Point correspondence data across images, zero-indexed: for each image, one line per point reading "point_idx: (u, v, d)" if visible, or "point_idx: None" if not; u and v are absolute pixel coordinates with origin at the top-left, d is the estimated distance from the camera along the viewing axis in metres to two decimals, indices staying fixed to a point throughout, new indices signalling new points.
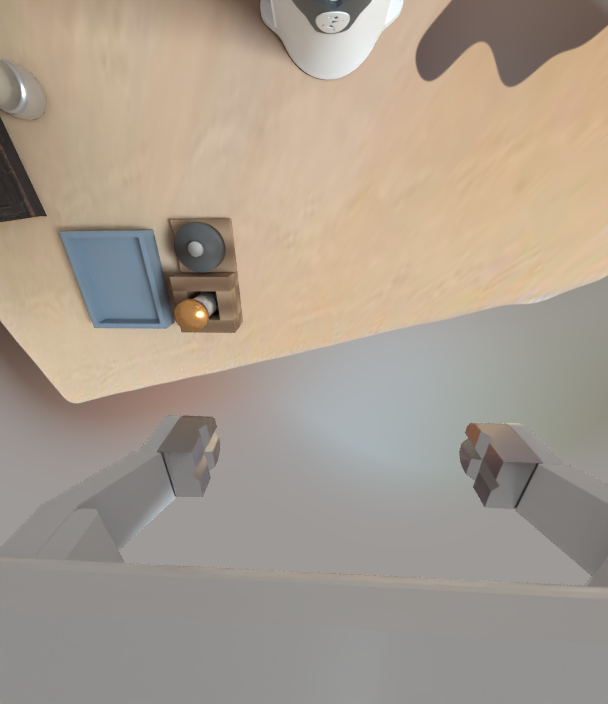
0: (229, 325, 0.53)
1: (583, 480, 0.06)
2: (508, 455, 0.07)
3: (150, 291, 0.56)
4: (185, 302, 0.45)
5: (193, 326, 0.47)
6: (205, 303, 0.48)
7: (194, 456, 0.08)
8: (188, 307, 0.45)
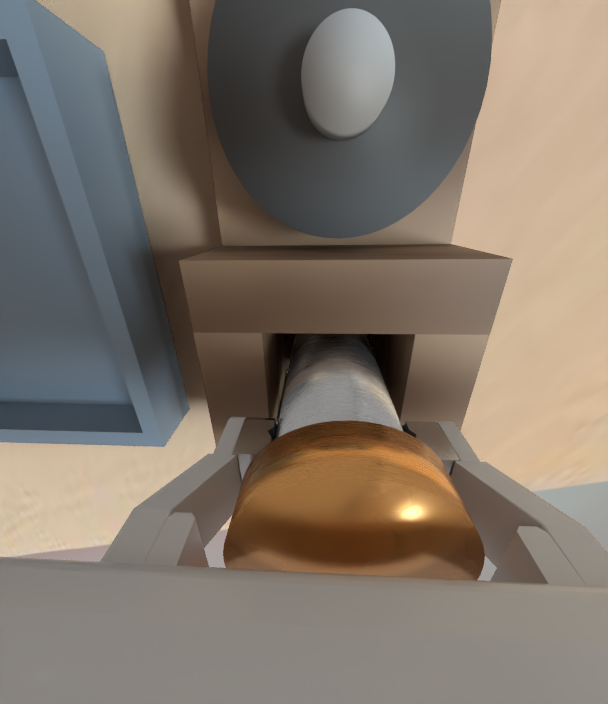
0: None
1: (492, 477, 0.07)
2: None
3: None
4: (341, 487, 0.05)
5: None
6: (394, 415, 0.08)
7: None
8: (357, 519, 0.05)
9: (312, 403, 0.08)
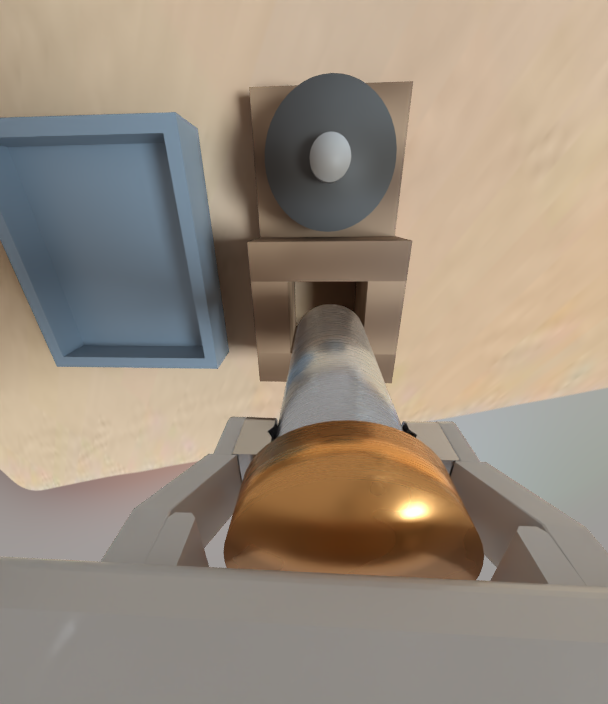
0: (381, 366, 0.21)
1: (492, 477, 0.07)
2: None
3: (183, 285, 0.24)
4: (341, 486, 0.05)
5: None
6: (394, 415, 0.08)
7: None
8: (357, 519, 0.05)
9: (312, 403, 0.08)
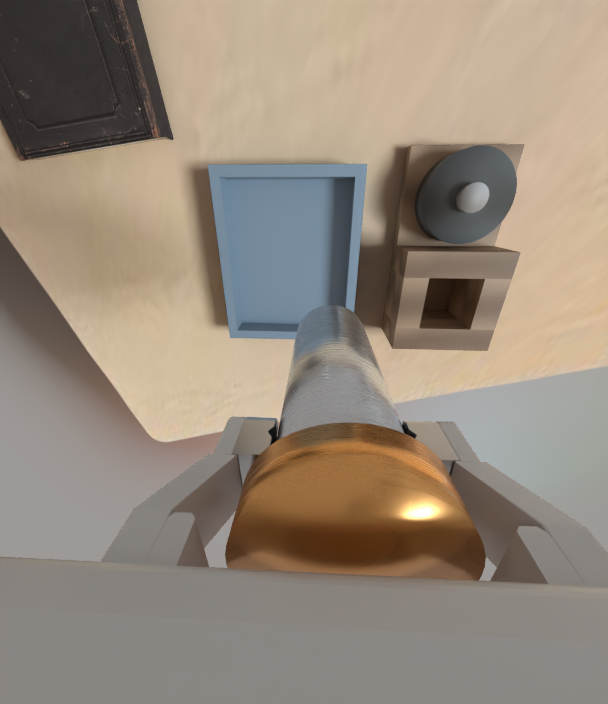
0: (482, 338, 0.31)
1: (492, 477, 0.07)
2: None
3: (329, 278, 0.33)
4: (343, 489, 0.05)
5: None
6: (395, 417, 0.08)
7: None
8: (359, 521, 0.05)
9: (313, 405, 0.08)
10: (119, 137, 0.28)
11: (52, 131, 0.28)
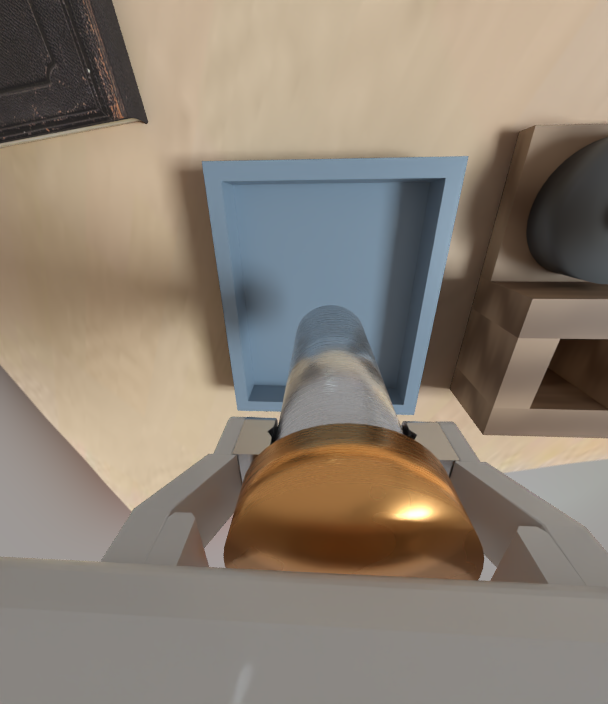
0: None
1: (492, 477, 0.07)
2: None
3: (383, 327, 0.23)
4: (341, 490, 0.05)
5: None
6: (394, 417, 0.08)
7: None
8: (357, 522, 0.05)
9: (312, 405, 0.08)
10: (59, 119, 0.17)
11: None
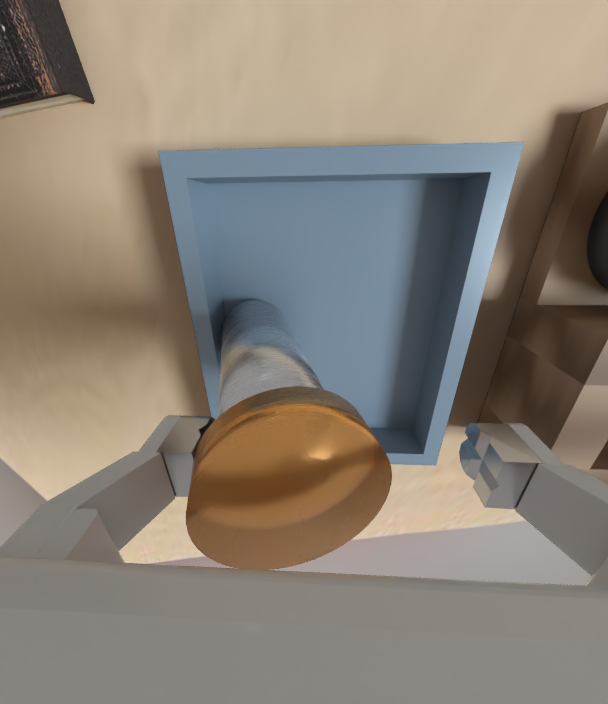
0: None
1: (582, 480, 0.06)
2: (508, 455, 0.07)
3: (397, 358, 0.19)
4: (280, 434, 0.06)
5: (307, 542, 0.08)
6: (318, 384, 0.10)
7: None
8: (297, 459, 0.06)
9: (248, 384, 0.09)
10: None
11: None
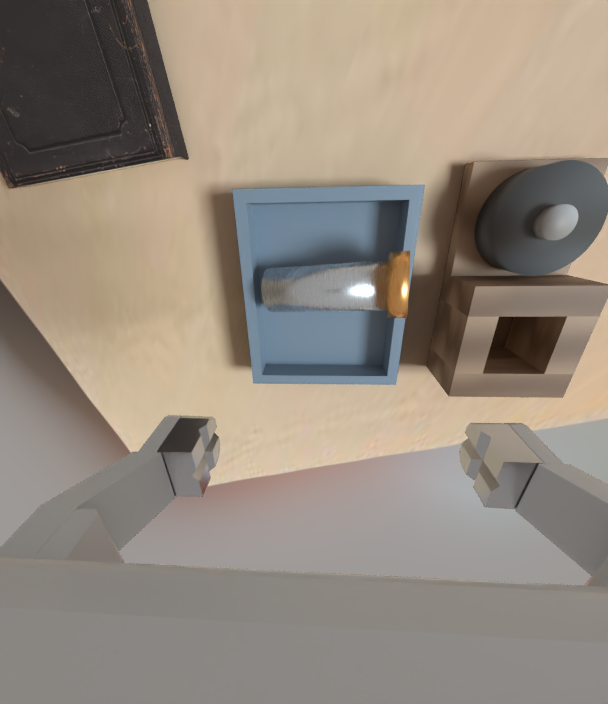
0: (558, 384, 0.26)
1: (582, 480, 0.06)
2: (508, 455, 0.07)
3: (369, 314, 0.29)
4: (409, 252, 0.21)
5: None
6: None
7: (194, 456, 0.08)
8: None
9: (367, 264, 0.22)
10: (125, 158, 0.23)
11: (47, 154, 0.23)
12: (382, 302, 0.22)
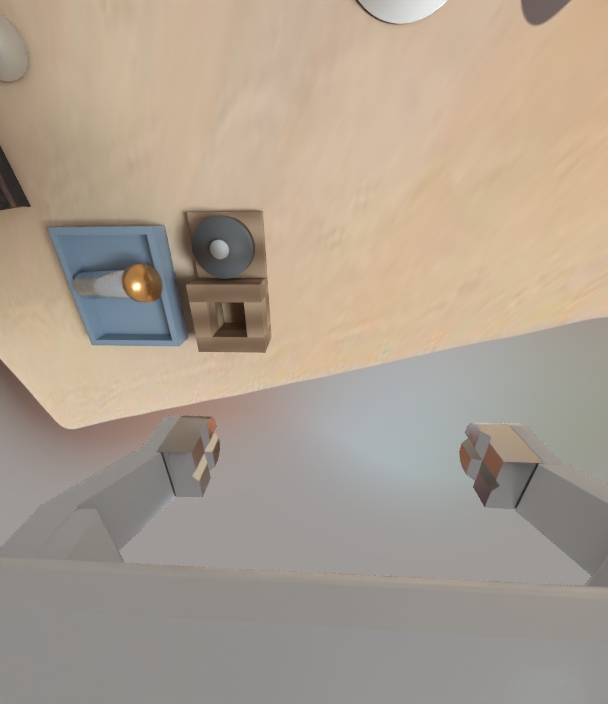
0: (258, 343, 0.42)
1: (582, 480, 0.06)
2: (508, 455, 0.07)
3: (160, 301, 0.46)
4: (140, 265, 0.38)
5: (152, 295, 0.40)
6: None
7: (194, 456, 0.08)
8: (144, 271, 0.38)
9: (121, 271, 0.39)
10: None
11: None
12: None
